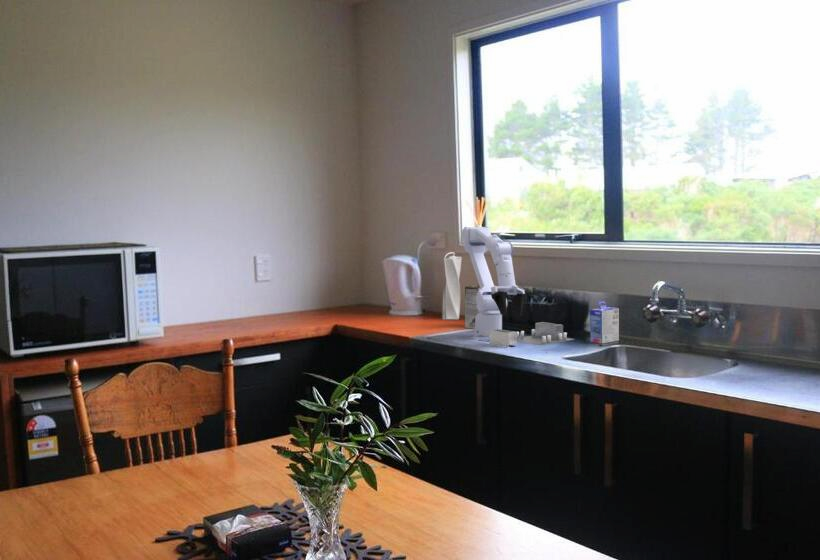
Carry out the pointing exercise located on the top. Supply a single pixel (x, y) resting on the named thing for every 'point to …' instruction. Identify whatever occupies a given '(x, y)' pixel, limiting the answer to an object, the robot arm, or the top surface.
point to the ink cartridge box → (604, 324)
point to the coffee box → (471, 305)
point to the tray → (542, 340)
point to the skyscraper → (452, 288)
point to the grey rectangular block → (502, 337)
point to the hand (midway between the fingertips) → (511, 314)
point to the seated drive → (548, 330)
